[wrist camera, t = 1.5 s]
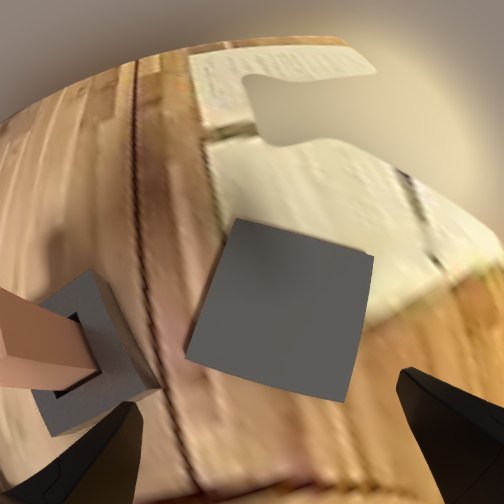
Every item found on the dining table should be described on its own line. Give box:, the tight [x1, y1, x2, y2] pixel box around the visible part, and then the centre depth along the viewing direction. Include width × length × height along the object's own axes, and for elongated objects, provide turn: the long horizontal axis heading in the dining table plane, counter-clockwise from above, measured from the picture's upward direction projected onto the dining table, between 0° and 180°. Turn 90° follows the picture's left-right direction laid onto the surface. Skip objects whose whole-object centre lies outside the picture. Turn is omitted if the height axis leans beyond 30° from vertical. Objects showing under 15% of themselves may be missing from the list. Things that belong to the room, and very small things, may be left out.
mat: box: [185, 218, 374, 403], centre depth 23 cm, size 13×13×1 cm
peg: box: [0, 287, 102, 391], centre depth 16 cm, size 4×4×13 cm
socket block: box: [31, 269, 161, 437], centre depth 20 cm, size 11×11×4 cm
